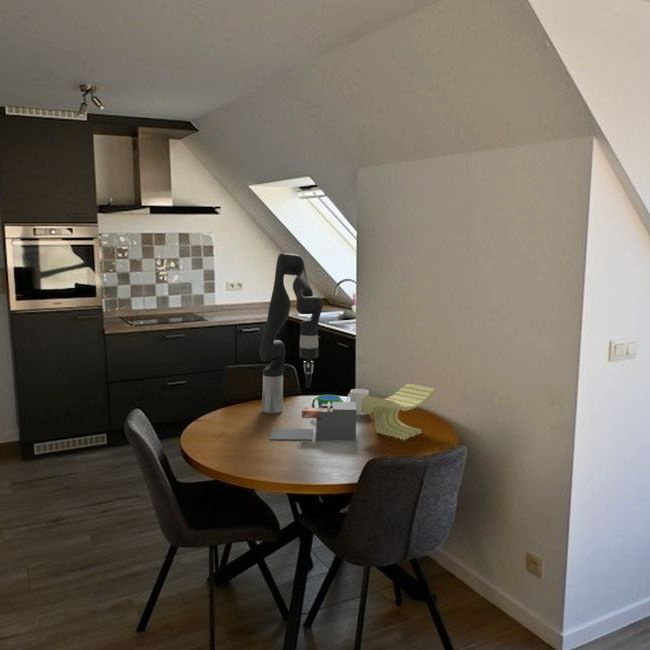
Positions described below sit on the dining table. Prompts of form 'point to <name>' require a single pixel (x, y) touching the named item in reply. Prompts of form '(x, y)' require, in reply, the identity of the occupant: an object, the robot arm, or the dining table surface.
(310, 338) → the robot arm
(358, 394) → the mug
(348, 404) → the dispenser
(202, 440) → the dining table surface
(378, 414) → the slatted curved stool
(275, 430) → the mat
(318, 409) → the copper bar
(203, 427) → the dining table surface
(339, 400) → the snack cup
